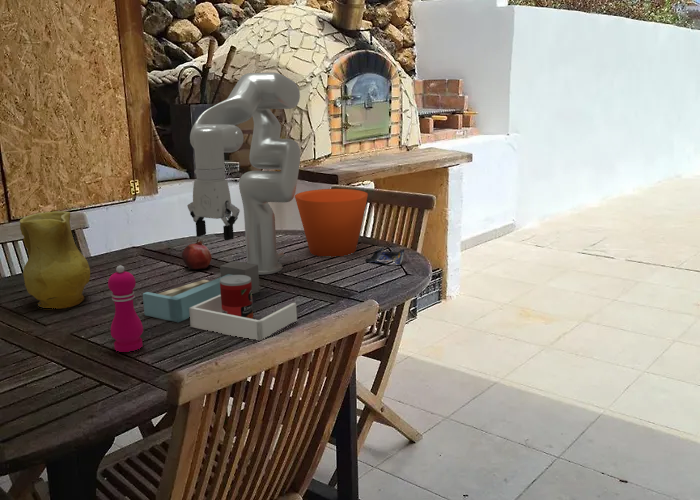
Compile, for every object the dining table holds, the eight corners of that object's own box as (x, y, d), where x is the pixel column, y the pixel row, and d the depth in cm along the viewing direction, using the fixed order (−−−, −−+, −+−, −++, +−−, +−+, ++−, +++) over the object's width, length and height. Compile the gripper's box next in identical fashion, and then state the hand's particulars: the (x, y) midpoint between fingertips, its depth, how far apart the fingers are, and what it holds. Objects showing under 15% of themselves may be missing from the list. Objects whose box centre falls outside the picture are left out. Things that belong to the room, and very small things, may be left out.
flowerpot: (346, 264, 229) (345, 204, 224) (283, 255, 241) (280, 198, 235) (381, 246, 250) (380, 191, 245) (321, 239, 262) (319, 186, 256)
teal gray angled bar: (219, 284, 210) (217, 258, 208) (259, 291, 203) (258, 264, 201) (144, 315, 185) (141, 286, 183) (187, 324, 178) (184, 294, 176)
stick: (204, 287, 208) (204, 279, 208) (210, 289, 207) (209, 280, 206) (153, 304, 195) (152, 295, 194) (159, 305, 193) (158, 296, 193)
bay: (229, 308, 189) (227, 291, 187) (296, 322, 178) (296, 303, 177) (190, 326, 176) (189, 307, 175) (260, 342, 165) (259, 322, 164)
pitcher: (30, 317, 185) (16, 224, 179) (25, 297, 201) (13, 212, 195) (97, 306, 193) (87, 217, 187) (88, 288, 209) (78, 205, 203)
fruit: (177, 271, 225) (174, 240, 222) (194, 263, 233) (192, 234, 231) (201, 273, 221) (199, 243, 219) (217, 265, 230) (215, 236, 227)
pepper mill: (116, 342, 167) (107, 261, 162) (147, 341, 167) (139, 260, 162) (109, 354, 160) (99, 270, 155) (141, 353, 160) (132, 269, 155)
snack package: (375, 270, 222) (408, 265, 226) (373, 250, 221) (406, 245, 225) (362, 267, 233) (394, 262, 237) (359, 248, 233) (392, 243, 237)
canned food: (247, 326, 176) (245, 284, 173) (217, 324, 177) (214, 282, 175) (257, 315, 183) (255, 275, 180) (228, 314, 185) (226, 273, 182)
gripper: (176, 174, 187) (181, 237, 191) (226, 178, 179) (230, 243, 183) (195, 171, 193) (200, 231, 198) (245, 174, 185) (248, 237, 189)
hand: (215, 237), depth 190 cm, fingers open, 9 cm apart
